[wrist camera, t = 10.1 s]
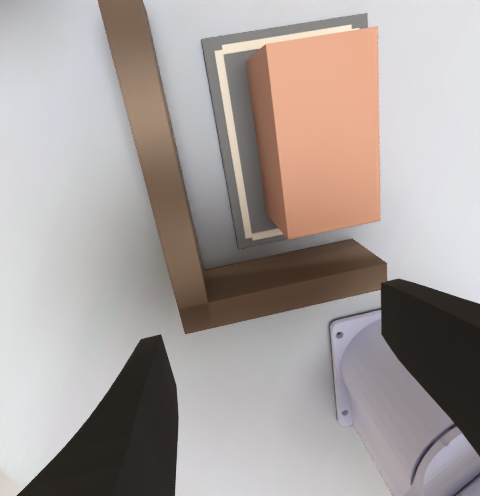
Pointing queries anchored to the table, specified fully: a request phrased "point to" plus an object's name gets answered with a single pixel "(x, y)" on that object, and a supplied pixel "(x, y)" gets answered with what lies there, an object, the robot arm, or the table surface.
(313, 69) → the terracotta block
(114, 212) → the table surface
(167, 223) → the corner wall
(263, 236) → the pad
